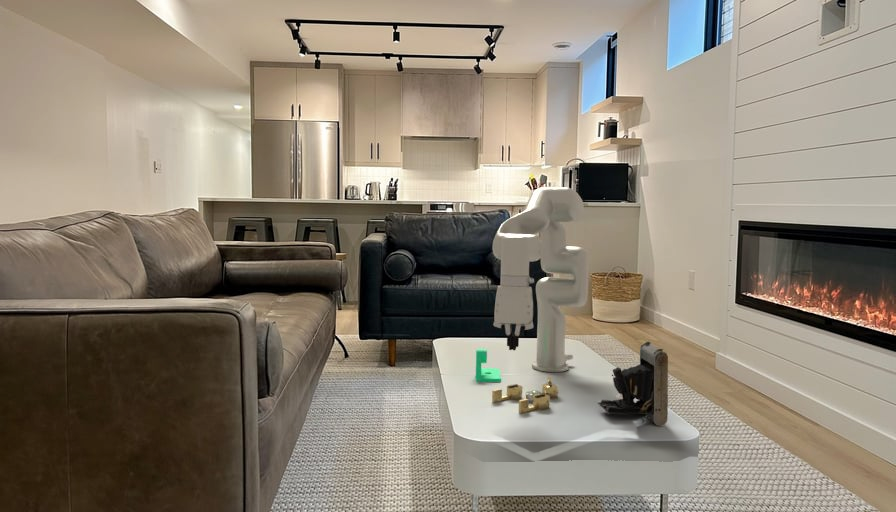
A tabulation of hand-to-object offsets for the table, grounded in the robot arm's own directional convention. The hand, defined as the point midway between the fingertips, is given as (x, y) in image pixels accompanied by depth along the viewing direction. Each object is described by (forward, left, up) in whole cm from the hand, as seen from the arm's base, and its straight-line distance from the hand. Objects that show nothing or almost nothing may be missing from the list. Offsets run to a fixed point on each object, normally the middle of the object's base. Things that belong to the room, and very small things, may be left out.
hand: (512, 349), depth 156 cm
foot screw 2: (-2, +6, -15) cm, 17 cm away
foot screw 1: (-2, -4, -15) cm, 16 cm away
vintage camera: (-20, +24, -17) cm, 36 cm away
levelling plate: (-8, +1, -17) cm, 19 cm away
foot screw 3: (-16, -1, -15) cm, 22 cm away
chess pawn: (-31, +14, -17) cm, 38 cm away
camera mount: (-13, -24, -17) cm, 33 cm away
